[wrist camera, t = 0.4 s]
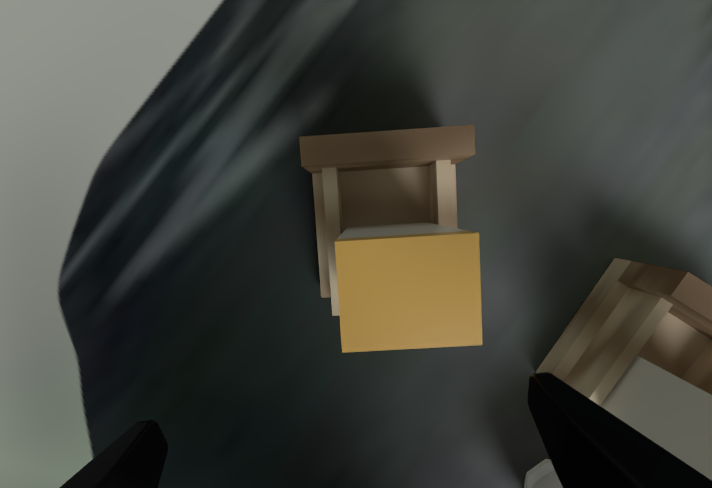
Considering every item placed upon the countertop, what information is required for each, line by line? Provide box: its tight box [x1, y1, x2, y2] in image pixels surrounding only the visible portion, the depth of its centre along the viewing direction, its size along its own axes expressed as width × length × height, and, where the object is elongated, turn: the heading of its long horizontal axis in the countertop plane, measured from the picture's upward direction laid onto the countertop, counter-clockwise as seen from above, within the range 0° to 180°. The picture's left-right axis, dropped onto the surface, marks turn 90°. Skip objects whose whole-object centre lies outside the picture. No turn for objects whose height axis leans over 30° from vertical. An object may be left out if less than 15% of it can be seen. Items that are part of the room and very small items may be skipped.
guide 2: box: [536, 258, 712, 406], centre depth 22 cm, size 10×9×6 cm
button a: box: [335, 222, 482, 353], centre depth 18 cm, size 4×5×10 cm
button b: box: [600, 355, 712, 480], centre depth 18 cm, size 4×5×10 cm
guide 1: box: [299, 125, 475, 316], centre depth 22 cm, size 10×9×6 cm
